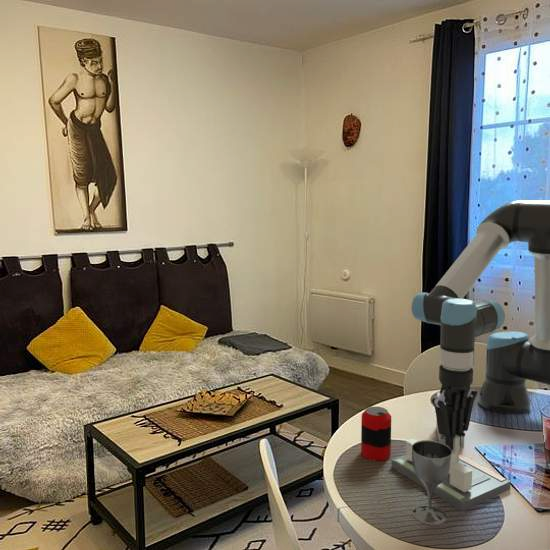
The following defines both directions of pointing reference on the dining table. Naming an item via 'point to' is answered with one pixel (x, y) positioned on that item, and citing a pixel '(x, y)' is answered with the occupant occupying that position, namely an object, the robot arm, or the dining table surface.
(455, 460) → the white square block
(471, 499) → the board
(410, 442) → the handle
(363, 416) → the soda can
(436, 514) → the wine glass
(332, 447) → the dining table surface
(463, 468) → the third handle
